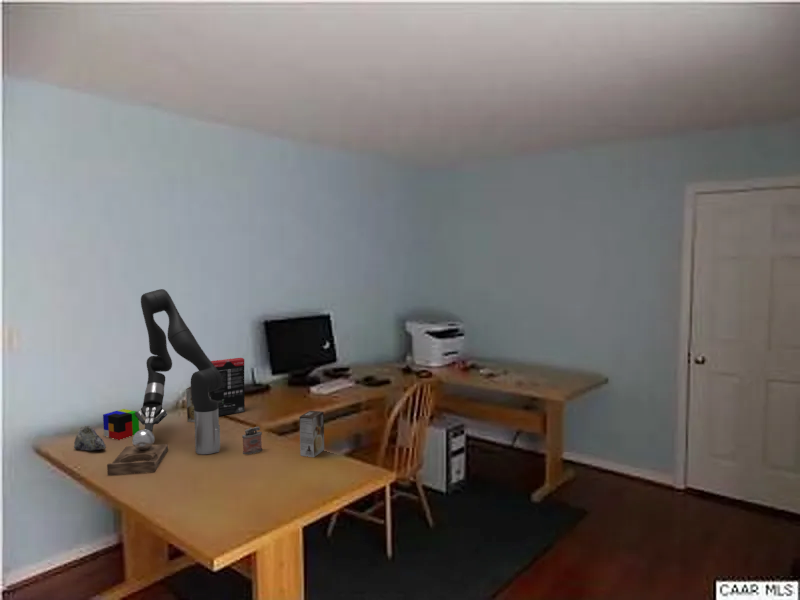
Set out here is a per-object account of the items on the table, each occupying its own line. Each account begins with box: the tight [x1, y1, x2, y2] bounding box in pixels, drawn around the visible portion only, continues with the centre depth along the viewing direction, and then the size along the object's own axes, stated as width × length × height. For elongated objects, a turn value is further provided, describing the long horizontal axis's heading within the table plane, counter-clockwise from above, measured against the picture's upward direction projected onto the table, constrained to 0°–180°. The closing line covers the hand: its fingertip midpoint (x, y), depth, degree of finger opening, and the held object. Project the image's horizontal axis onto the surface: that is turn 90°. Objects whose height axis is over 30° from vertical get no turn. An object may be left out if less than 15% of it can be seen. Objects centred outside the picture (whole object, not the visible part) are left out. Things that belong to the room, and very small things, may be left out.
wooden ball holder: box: [106, 443, 169, 476], centre depth 224 cm, size 16×24×4 cm, turn 11°
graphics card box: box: [210, 357, 246, 417], centre depth 288 cm, size 17×7×27 cm, turn 130°
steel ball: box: [131, 428, 155, 450], centre depth 230 cm, size 8×8×8 cm
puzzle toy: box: [102, 408, 140, 441], centre depth 256 cm, size 10×10×10 cm
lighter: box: [241, 426, 263, 455], centre depth 234 cm, size 8×3×10 cm, turn 129°
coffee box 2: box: [299, 410, 325, 458], centre depth 233 cm, size 9×6×16 cm
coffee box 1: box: [185, 386, 210, 423], centre depth 277 cm, size 9×6×16 cm
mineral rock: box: [73, 425, 107, 452], centre depth 237 cm, size 13×11×10 cm
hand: (148, 432), depth 238 cm, fingers closed
